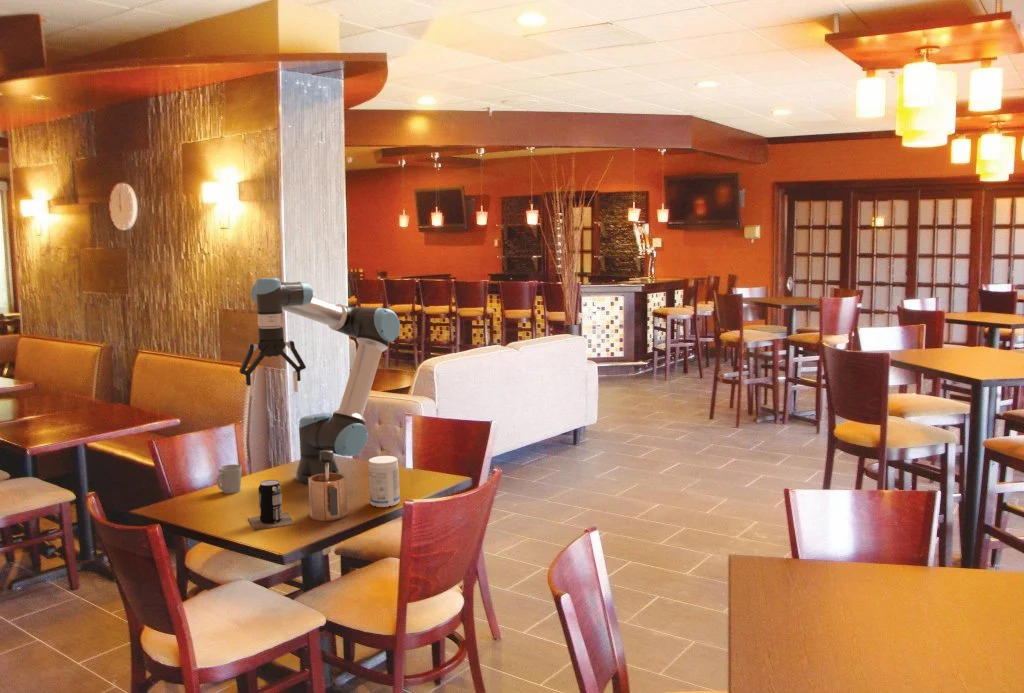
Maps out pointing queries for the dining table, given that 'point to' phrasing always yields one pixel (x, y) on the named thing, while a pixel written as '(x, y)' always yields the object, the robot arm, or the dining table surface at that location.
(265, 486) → the beverage can
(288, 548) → the dining table surface
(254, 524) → the gray-brown square tile
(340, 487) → the press carafe
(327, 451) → the plunger
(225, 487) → the cup
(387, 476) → the supplement tub
